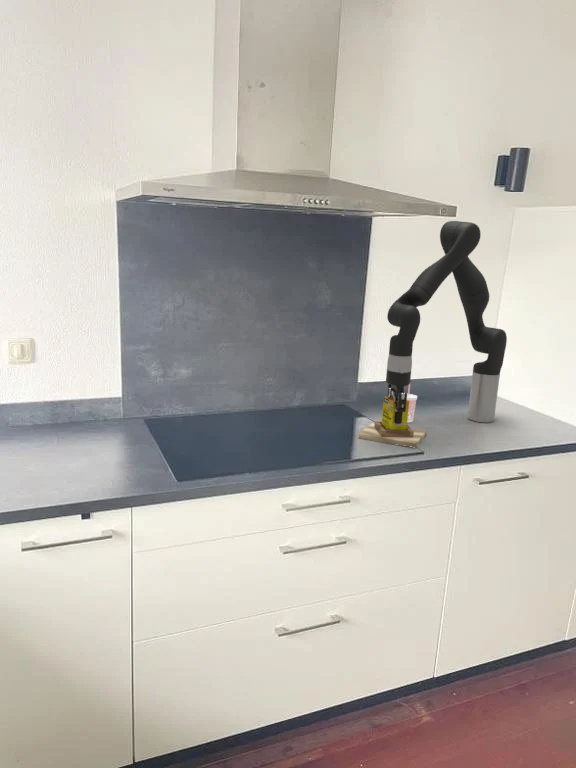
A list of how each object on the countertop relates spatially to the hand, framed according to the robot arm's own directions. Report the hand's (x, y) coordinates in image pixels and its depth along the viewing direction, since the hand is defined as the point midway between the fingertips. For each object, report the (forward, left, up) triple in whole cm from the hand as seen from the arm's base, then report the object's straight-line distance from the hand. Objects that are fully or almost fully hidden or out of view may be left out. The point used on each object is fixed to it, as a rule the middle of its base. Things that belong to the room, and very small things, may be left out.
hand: (394, 419), depth 187 cm
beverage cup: (-21, -1, -6) cm, 22 cm away
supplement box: (0, 0, -4) cm, 4 cm away
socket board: (0, 0, -6) cm, 6 cm away
